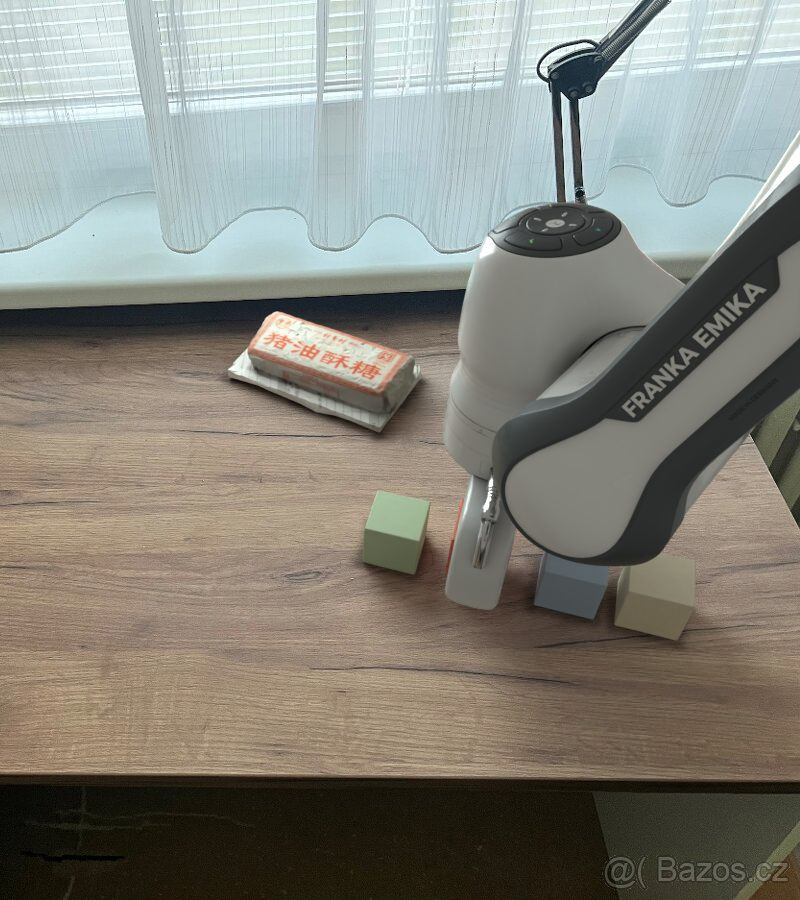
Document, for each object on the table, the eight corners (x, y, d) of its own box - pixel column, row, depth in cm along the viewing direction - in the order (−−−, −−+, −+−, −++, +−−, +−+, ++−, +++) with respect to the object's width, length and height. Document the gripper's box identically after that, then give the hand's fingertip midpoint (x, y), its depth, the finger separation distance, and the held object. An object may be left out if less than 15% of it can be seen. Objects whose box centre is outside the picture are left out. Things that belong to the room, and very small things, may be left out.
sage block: (425, 535, 76) (431, 501, 73) (414, 575, 73) (419, 541, 70) (374, 523, 77) (377, 489, 74) (361, 562, 75) (364, 528, 71)
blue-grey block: (597, 576, 72) (611, 541, 68) (593, 620, 69) (607, 586, 66) (540, 562, 73) (550, 528, 70) (533, 605, 70) (544, 571, 67)
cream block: (678, 595, 70) (696, 560, 66) (677, 641, 67) (695, 607, 64) (617, 580, 71) (632, 546, 68) (613, 625, 68) (628, 591, 65)
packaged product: (428, 341, 87) (383, 400, 82) (423, 378, 90) (380, 437, 85) (273, 292, 95) (223, 342, 90) (274, 328, 99) (226, 378, 93)
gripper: (538, 545, 54) (502, 665, 63) (571, 344, 67) (537, 469, 76) (434, 521, 56) (415, 641, 65) (486, 330, 69) (463, 454, 78)
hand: (481, 547), depth 71 cm, fingers closed on coral block, 4 cm apart
